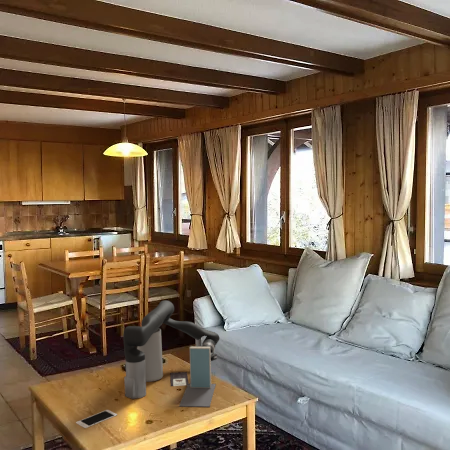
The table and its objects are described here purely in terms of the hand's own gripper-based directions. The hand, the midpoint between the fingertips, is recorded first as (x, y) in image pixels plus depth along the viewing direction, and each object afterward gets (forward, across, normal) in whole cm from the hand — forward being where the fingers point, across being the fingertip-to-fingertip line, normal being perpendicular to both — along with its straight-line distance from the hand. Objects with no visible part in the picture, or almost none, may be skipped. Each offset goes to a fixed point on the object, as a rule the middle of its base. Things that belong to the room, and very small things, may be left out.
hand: (202, 362), depth 246 cm
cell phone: (+38, +41, -13) cm, 57 cm away
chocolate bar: (-8, +14, -13) cm, 20 cm away
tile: (+2, +1, -12) cm, 12 cm away
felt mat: (+11, +1, -12) cm, 16 cm away
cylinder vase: (-10, +29, -13) cm, 33 cm away
